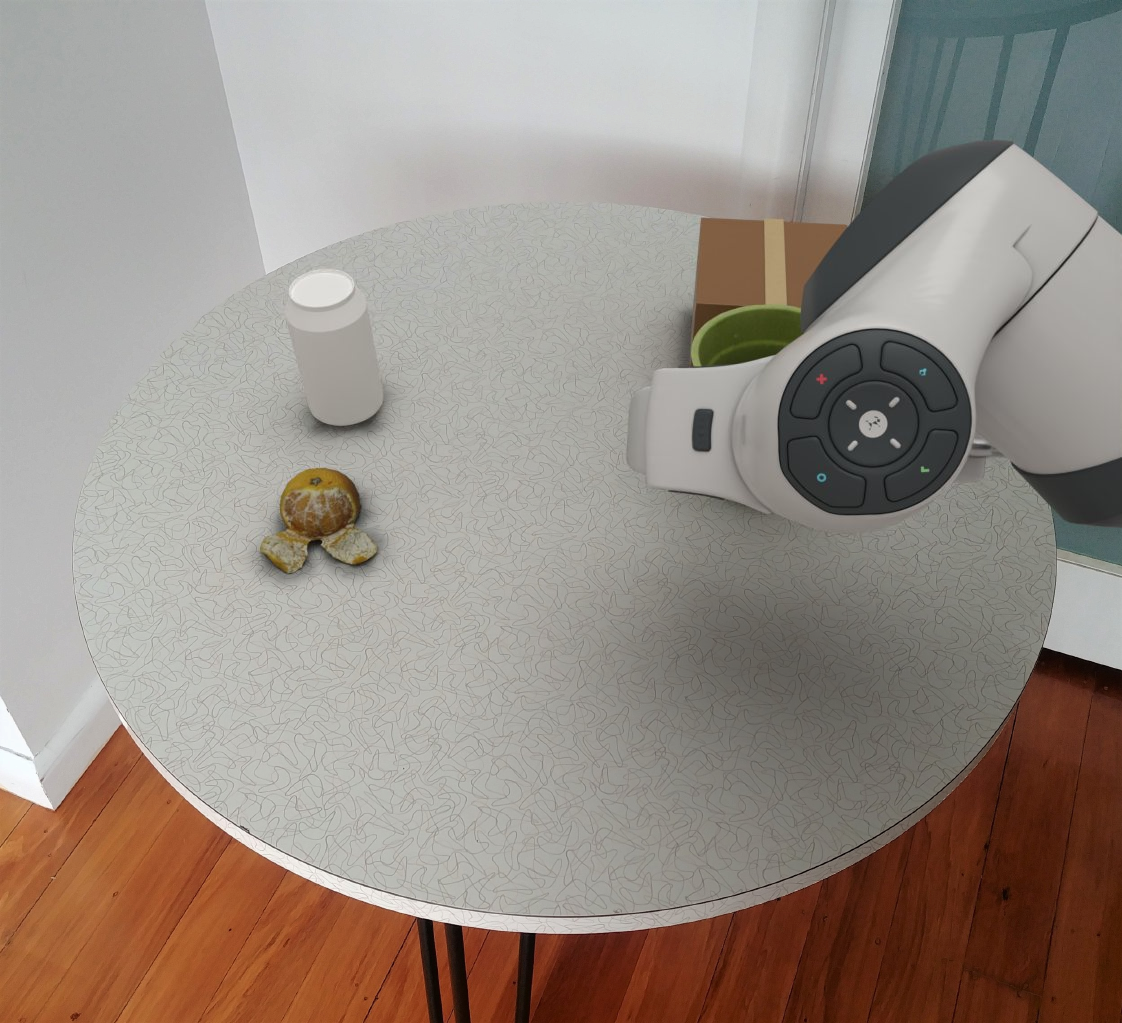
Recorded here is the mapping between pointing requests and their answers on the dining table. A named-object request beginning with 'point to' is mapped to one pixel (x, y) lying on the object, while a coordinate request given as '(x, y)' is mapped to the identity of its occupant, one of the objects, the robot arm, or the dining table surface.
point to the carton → (755, 264)
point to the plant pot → (746, 334)
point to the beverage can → (334, 347)
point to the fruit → (319, 520)
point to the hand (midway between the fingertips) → (787, 444)
